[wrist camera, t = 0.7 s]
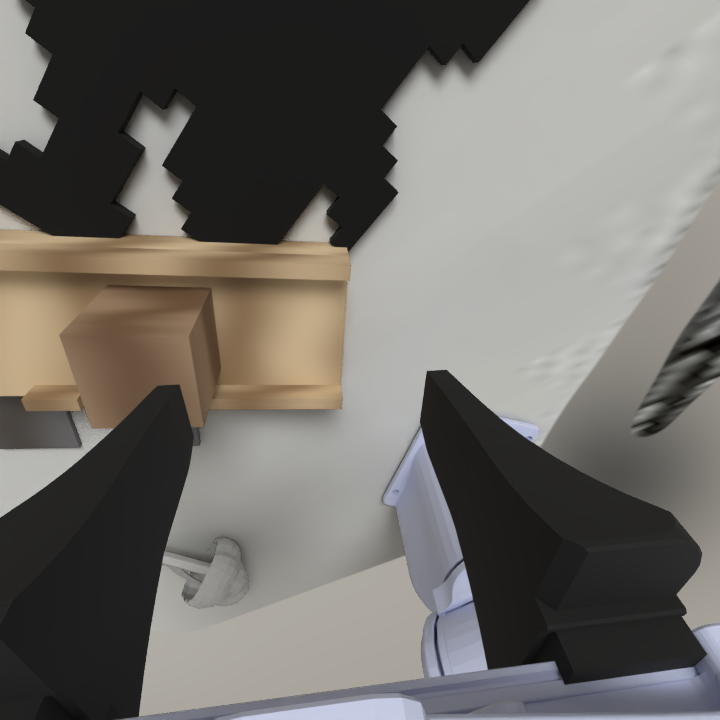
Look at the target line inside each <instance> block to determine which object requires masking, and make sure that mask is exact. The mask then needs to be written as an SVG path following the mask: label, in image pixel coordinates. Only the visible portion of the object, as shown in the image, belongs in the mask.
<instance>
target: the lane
mask: <svg viewBox="0 0 720 720" xmlns="http://www.w3.org/2000/svg"><path fill="white" fill-rule="evenodd" d="M350 272H351V264H350V259H349V255H348V250H347V248H345V247H335V246H333V245H332V244H331V243H324V242H299V241H280V242H279V243H278V245H269V244H243V243H218V242H199V241H198V240H196V239H195V238H193V237H174V236H149V235H123V236H121V237H120V238H119V239H117V238H92V237H66V236H52V235H50V234H49V233H47V232H45V231H25V230H0V449H23V448H79V447H80V446H81V441H80V438H79V436H78V433H77V430H76V428H75V425H74V422H73V420H72V417H71V415H70V412H69V411H81V410H82V408H83V407H84V405H83V402H82V399H81V396H80V393H79V390H78V388H77V385H76V382H75V379H74V376H73V373H72V370H71V368H70V365H69V362H68V359H67V356H66V353H65V350H64V348H63V345H62V342H61V339H60V336H59V334H60V333H61V332H62V331H63V330H64V329H65V328H66V327H67V326H68V325H69V324H70V323H71V322H72V321H73V320H74V319H75V318H76V317H77V316H78V315H79V314H80V313H81V312H82V311H83V310H84V309H85V308H86V307H87V305H88V304H89V303H90V302H91V301H92V300H93V299H94V298H95V297H96V296H97V295H98V294H99V293H100V292H101V291H102V290H103V289H104V288H105V287H106V286H107V285H128V286H166V287H204V288H211V290H212V298H213V306H214V314H215V322H216V330H217V339H218V347H219V355H220V363H221V371H220V374H219V377H218V381H217V384H216V387H215V391H214V394H213V397H212V401H211V404H210V407H209V410H249V409H342V390H341V376H342V360H343V343H344V327H345V310H346V294H347V281H350ZM191 428H192V431H193V435H194V440H193V446H199V445H200V437H199V431H198V427H191Z"/></svg>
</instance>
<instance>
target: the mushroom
mask: <svg viewBox="0 0 720 720" xmlns="http://www.w3.org/2000/svg"><path fill="white" fill-rule="evenodd" d="M217 542H218V545H217V548H216V552H215V556H214V559H213V560H212V561H211V562H203V561H201V560H196V559H192V558H189V557H185V556H181V555H178V554H174V553H170V552H167V551H165V552H164V556H163V561H162V565H166V566H168V567H169V568H170V569H171V570H173V571H174V572H175V573H176V574H178V575H179V576H181V577H182V578H185V579H187V581H186V583H185V585H184V588H183V591H182V597H183V599H184V601H185V602H186V603H187V604H188V605H189V606H192V607H195V608H198V609H199V608H206V607H212V606H215V605H218V606H227V605H232V604H234V603H237V602H238V601H239V600H240V599H242V598H243V597H244V596H245V594H246V592H247V591H248V589H249V578H248V574H247V573H246V569H245V567H244V566H243V564H242V562H241V560H240V559H241V551H240V549H239V547H238V545H237V544H236V543H235V542H234V541H233V540H231V539H228V538H226V537H223V538H217V539H216V540H215V541H214V542H213V543H217ZM207 551H211V550H210V549H208V550H207ZM184 570H187V571H191V573H190V574H188V573H187V572H185V571H184Z"/></svg>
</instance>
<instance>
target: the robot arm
mask: <svg viewBox="0 0 720 720" xmlns="http://www.w3.org/2000/svg"><path fill="white" fill-rule="evenodd" d="M420 424H421V428H420V430H419V432H418V433H417V435H416V437H415V439H414V441H413V443H412V444H411V446H410V448H409V450H408V452H407V454H406V456H405V457H404V459H403V461H402V463H401V465H400V467H399V468H398V470H397V472H396V474H395V476H394V478H393V480H392V481H391V483H390V485H389V487H388V489H387V491H386V492H385V494H384V496H383V501H384V503H385V504H386V505H390V506H396V511H397V516H398V521H399V526H400V531H401V536H402V540H403V545H404V550H405V555H406V560H407V565H408V570H409V575H410V578H411V581H412V584H413V587H414V589H415V591H416V593H417V594H418V596H419V597H420V598H421V600H422V601H423V603H424V604H425V605H426V606H427V607H428V609H430V611H432V612H433V613H432V614H430V615H429V616H428V617H427V619H426V621H425V625H424V629H423V636H422V641H421V660H422V667H423V673H424V677H425V678H424V679H416V680H409V681H402V682H394V683H387V684H379V685H372V686H364V687H356V688H349V689H342V690H334V691H327V692H320V693H312V694H305V695H297V696H289V697H282V698H275V699H267V700H260V701H252V702H245V703H237V704H230V705H222V706H216V707H207V708H200V709H192V710H185V711H178V712H170V713H163V714H155V715H148V716H141V717H139V709H140V700H141V693H142V684H143V676H144V669H145V662H146V655H147V648H148V641H149V635H150V628H151V622H152V616H153V610H154V604H155V598H156V593H157V587H158V582H159V577H160V571H161V566H162V561H163V556H164V552H165V548H166V544H167V540H168V537H169V533H170V530H171V527H172V523H173V520H174V517H175V514H176V510H177V507H178V504H179V500H180V497H181V494H182V491H183V487H184V484H185V480H186V477H187V474H188V470H189V465H190V459H191V453H192V447H193V440H194V435H193V431H192V428H191V424H190V420H189V417H188V413H187V410H186V406H185V402H184V399H183V395H182V391H181V388H180V384H178V385H160V386H156V387H155V388H154V389H153V390H152V391H151V392H150V393H149V394H148V395H147V396H146V397H145V398H144V399H143V400H142V401H141V402H140V403H139V404H138V405H137V406H136V407H135V408H134V409H133V410H132V412H131V413H130V414H129V415H128V416H127V417H126V418H125V419H124V420H122V421H121V422H120V423H119V424H118V425H117V426H116V427H115V428H114V429H113V430H112V431H111V432H110V433H109V434H108V435H107V436H106V437H105V438H104V439H103V440H101V441H100V442H99V443H98V444H97V445H96V446H95V447H94V448H92V449H91V450H90V451H89V452H88V453H87V454H86V455H85V456H83V457H82V458H81V459H80V460H79V461H78V462H77V463H75V464H74V465H73V466H72V467H71V468H69V469H68V470H67V471H66V472H64V473H63V474H62V475H60V476H59V477H58V478H56V479H55V480H54V481H53V482H51V483H50V484H49V485H47V486H46V487H45V488H43V489H42V490H40V491H39V492H38V493H36V494H35V495H33V496H32V497H30V498H29V499H27V500H26V501H24V502H23V503H21V504H20V505H18V506H17V507H16V508H14V509H13V510H11V511H10V512H8V513H7V514H5V515H4V516H2V517H1V518H0V720H720V623H714V624H708V625H704V626H701V627H698V628H696V629H694V630H692V631H691V630H690V628H689V627H688V625H687V624H686V622H685V621H684V620H683V618H682V616H684V615H685V614H686V613H687V612H686V608H685V606H684V605H683V604H682V602H681V601H680V600H679V598H678V597H677V595H676V594H677V593H678V592H679V591H680V590H681V588H682V587H683V586H684V585H685V583H687V581H688V580H689V579H690V578H691V577H692V576H693V574H694V573H695V572H696V570H697V568H698V567H699V565H700V562H701V557H702V552H701V550H700V547H699V546H698V544H697V543H696V542H695V541H694V540H693V538H692V537H691V536H690V535H689V534H688V533H687V531H686V530H685V529H684V528H683V526H682V525H681V524H680V523H679V522H678V520H677V519H676V518H675V517H674V516H673V514H672V513H671V512H669V511H666V510H664V509H662V508H659V507H657V506H654V505H652V504H649V503H647V502H644V501H642V500H640V499H637V498H635V497H632V496H630V495H627V494H625V493H623V492H621V491H618V490H616V489H614V488H612V487H610V486H608V485H606V484H604V483H602V482H600V481H598V480H596V479H594V478H592V477H590V476H588V475H586V474H584V473H582V472H580V471H578V470H577V469H575V468H573V467H571V466H570V465H568V464H566V463H564V462H563V461H561V460H559V459H557V458H556V457H554V456H552V455H551V454H549V453H548V452H546V451H545V450H543V449H542V448H540V447H539V446H537V445H536V444H534V443H533V441H534V440H535V438H536V437H537V436H538V434H539V429H538V428H537V426H536V425H533V424H529V423H524V422H520V421H515V420H511V419H506V418H501V417H498V416H497V415H496V414H494V413H493V412H492V411H491V410H490V409H489V408H487V407H486V406H485V405H484V404H483V403H482V402H481V401H479V400H478V399H477V398H476V397H475V396H474V395H473V394H472V393H471V392H470V391H469V390H467V389H466V388H465V387H464V386H463V385H462V384H461V383H460V382H459V381H458V380H457V379H456V378H455V377H454V376H453V375H452V374H450V373H449V372H448V371H447V370H437V371H427V374H426V381H425V389H424V396H423V403H422V411H421V418H420ZM526 437H527V438H526Z"/></svg>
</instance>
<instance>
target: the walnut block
mask: <svg viewBox="0 0 720 720" xmlns="http://www.w3.org/2000/svg"><path fill="white" fill-rule="evenodd" d="M59 336H60V339H61V342H62V345H63V348H64V350H65V353H66V356H67V359H68V362H69V365H70V368H71V370H72V373H73V376H74V379H75V382H76V385H77V388H78V390H79V393H80V396H81V399H82V402H83V405H84V408H85V410H86V413H87V416H88V419H89V422H90V425H91V428H92V429H95V428H115V427H116V426H117V425H118V424H119V423H120V422H121V421H122V420H124V419H125V418H126V417H127V416H128V415H129V414H130V413H131V412H132V410H133V409H134V408H135V407H136V406H137V405H138V404H139V403H140V402H141V401H142V400H143V399H144V398H145V397H146V396H147V395H148V394H149V393H150V392H151V391H152V390H153V389H154V388H155V387H156V386H160V385H178V384H180V388H181V391H182V395H183V399H184V402H185V406H186V410H187V413H188V417H189V420H190V424H191V427H204V424H205V421H206V417H207V414H208V411H209V407H210V404H211V401H212V397H213V394H214V391H215V387H216V384H217V381H218V377H219V374H220V371H221V363H220V355H219V347H218V339H217V330H216V322H215V314H214V306H213V298H212V290H211V288H204V287H166V286H128V285H107V286H106V287H105V288H104V289H103V290H102V291H101V292H100V293H99V294H98V295H97V296H96V297H95V298H94V299H93V300H92V301H91V302H90V303H89V304H88V305H87V307H86V308H85V309H84V310H83V311H82V312H81V313H80V314H79V315H78V316H77V317H76V318H75V319H74V320H73V321H72V322H71V323H70V324H69V325H68V326H67V327H66V328H65V329H64V330H63V331H62V332H61V333H60V334H59Z"/></svg>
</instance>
